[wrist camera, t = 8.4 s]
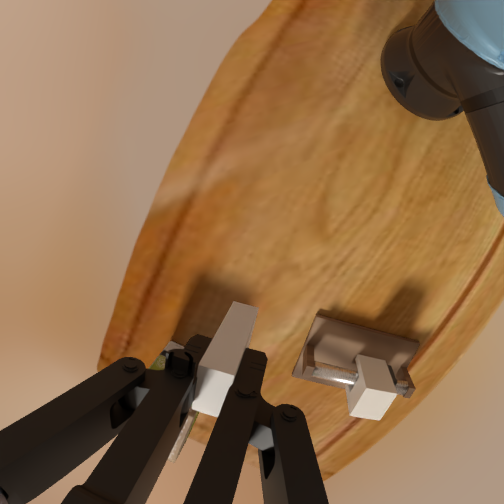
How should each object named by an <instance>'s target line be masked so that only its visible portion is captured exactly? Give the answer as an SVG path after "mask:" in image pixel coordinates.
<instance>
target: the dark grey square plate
mask: <svg viewBox="0 0 504 504" xmlns="http://www.w3.org/2000/svg"><path fill="white" fill-rule="evenodd" d="M387 366H388V369H389V372H390V375H391V377H392V380H393V383H394V386H396V384H397V383H398V382H397V380H396V377H395V374H394V372H393V369H392V367H391V365H387Z"/></svg>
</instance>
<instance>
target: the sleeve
mask: <svg viewBox="0 0 504 504" xmlns="http://www.w3.org/2000/svg"><path fill="white" fill-rule="evenodd" d="M355 360H356V364H357V369H358V373H359V378H358V380H357V381H356V383H355V385H354V386H351V385H347V384H345V388H346V395H347V401H348V408H349V416H355V417H361V418H367V419H373V420H380V419H381V418H382V416H383V415H384V414H385V412H386V411H387V409H388V408H389V406H390V405H391V403H392V401H393V400H394V398H395V397H396V395H397V391H396V388H395V386H394V383H393V380H392V377H391V375H390V372H389V369H388V366H387V364H386V361H385V360H381V359H376V358H372V357H368V356H363V355H359V354H358V355H357V357H356V359H355Z"/></svg>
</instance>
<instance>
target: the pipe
mask: <svg viewBox="0 0 504 504" xmlns="http://www.w3.org/2000/svg"><path fill="white" fill-rule="evenodd" d="M311 376H312V377H316V378H320V379H325V380H329V381H333V382H338V383H342V384H347V385H351V386H354V385H355V383H356V381H357V380H358V378H359V373H358V371H356V370H351V369H347V368H343V367H338V366H334V365H330V364H326V363H322V362H318V361H315V368H314V371H313V373H312V375H311ZM396 380H397V382H398V383H397V384H396V386H395V388H396V391H397V394H398V395H404V394H405V393H406V392H407V390H408V382H407V381H404V380H398V379H396Z"/></svg>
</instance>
